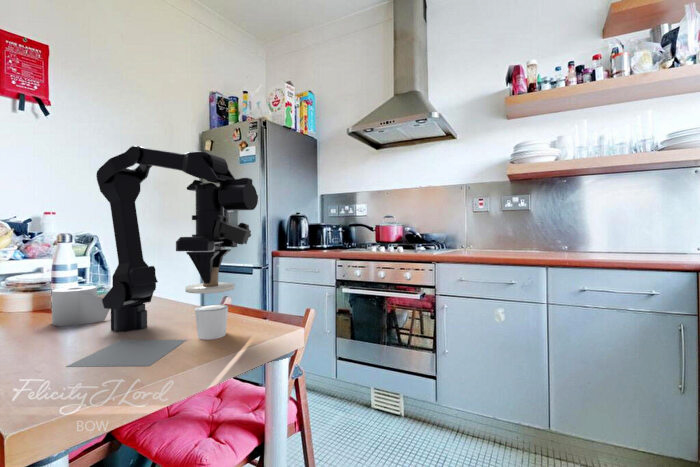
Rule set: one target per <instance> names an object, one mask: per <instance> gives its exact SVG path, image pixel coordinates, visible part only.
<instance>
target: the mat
mask: <svg viewBox="0 0 700 467" xmlns="http://www.w3.org/2000/svg"><path fill="white" fill-rule="evenodd" d="M186 341H187V339H120V340H118V341H115V342H114V343H111V344H109V345H107V346H106V347H103V348H102V349H99V350H97V351H95V352H93V353H91V354H89V355H87V356H85V357H83V358H81V359H79V360H76V361H75V362H72V363H69V365H67V366H65V367H66V368H80V367H81V368H85V367H86V368H89V367H91V368H92V367H94V368H96V367H97V368H98V367H99V368H100V367H101V368H102V367H103V368H106V367H107V368H108V367H111V368H112V367H116V368H117V367H150V366H152V365H153V364H155V363H156V362H158V361H160V360H161V359H162V358H163V357H165V356H166V355H168V354H169V353H171V352H172V351H173V350H175V349H176V348H178V347H179V346H180V345H182V344H184V343H186Z"/></svg>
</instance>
